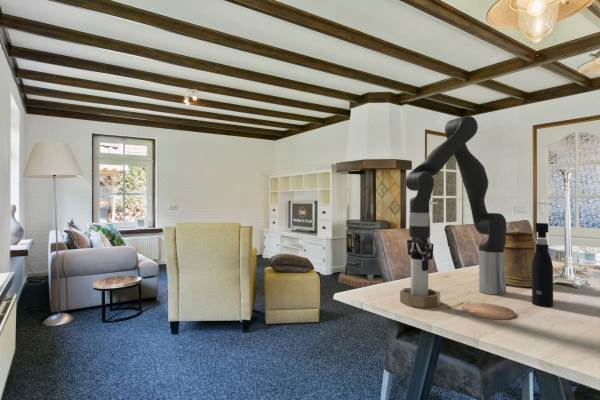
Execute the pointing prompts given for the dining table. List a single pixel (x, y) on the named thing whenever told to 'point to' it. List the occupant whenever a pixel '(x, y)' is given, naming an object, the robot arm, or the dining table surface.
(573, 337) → the dining table surface
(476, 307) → the coaster
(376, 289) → the dining table surface
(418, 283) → the travel mug
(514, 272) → the tankard
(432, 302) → the collar ring
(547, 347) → the dining table surface
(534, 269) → the black water bottle
